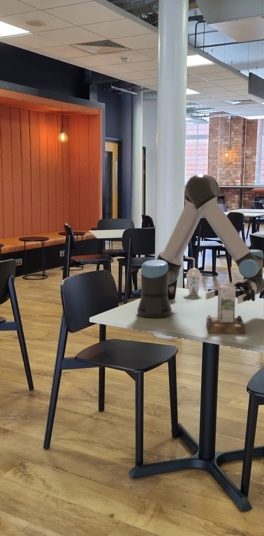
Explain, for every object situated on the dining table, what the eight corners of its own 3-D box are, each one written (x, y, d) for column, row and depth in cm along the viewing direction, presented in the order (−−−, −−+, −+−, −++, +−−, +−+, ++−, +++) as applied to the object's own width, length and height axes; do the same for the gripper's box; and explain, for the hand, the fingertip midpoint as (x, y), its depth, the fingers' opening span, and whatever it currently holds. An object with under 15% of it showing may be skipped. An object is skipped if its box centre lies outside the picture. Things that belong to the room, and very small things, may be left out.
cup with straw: (201, 296, 273) (202, 257, 270) (183, 295, 274) (184, 257, 271) (202, 292, 281) (202, 255, 278) (184, 292, 282) (185, 255, 279)
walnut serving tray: (208, 333, 203) (208, 323, 203) (206, 324, 217) (206, 314, 216) (245, 334, 202) (245, 323, 201) (240, 324, 216) (241, 315, 215)
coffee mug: (177, 296, 271) (177, 277, 269) (177, 300, 262) (177, 280, 261) (154, 296, 272) (154, 277, 270) (153, 300, 263) (153, 280, 262)
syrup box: (231, 319, 212) (232, 284, 210) (234, 323, 206) (235, 286, 204) (217, 319, 212) (218, 284, 210) (220, 323, 206) (221, 286, 204)
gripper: (272, 301, 216) (252, 311, 198) (217, 294, 230) (193, 303, 213) (273, 283, 214) (253, 292, 197) (217, 277, 229) (193, 285, 211)
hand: (222, 298), depth 205 cm, fingers open, 13 cm apart
